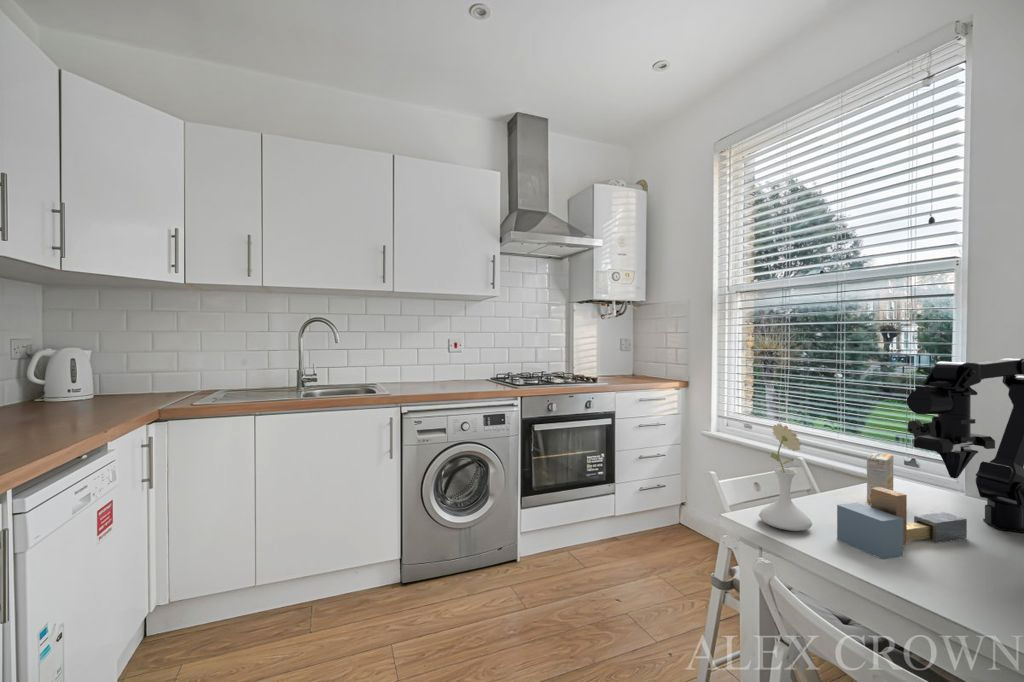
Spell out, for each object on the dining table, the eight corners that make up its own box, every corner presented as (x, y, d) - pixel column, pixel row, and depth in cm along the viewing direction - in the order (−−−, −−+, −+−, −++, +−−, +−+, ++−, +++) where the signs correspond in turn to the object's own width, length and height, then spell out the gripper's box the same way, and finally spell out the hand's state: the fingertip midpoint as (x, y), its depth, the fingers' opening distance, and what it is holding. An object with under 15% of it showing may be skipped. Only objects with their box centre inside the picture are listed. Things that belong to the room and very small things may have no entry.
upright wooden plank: (918, 529, 109) (918, 483, 109) (945, 539, 104) (945, 490, 104) (852, 538, 104) (852, 490, 104) (877, 549, 99) (877, 497, 99)
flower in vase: (821, 537, 107) (821, 430, 107) (768, 533, 109) (768, 428, 109) (798, 516, 119) (798, 421, 120) (750, 513, 122) (751, 419, 122)
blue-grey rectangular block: (857, 536, 107) (857, 502, 107) (903, 555, 98) (903, 518, 98) (837, 539, 106) (837, 504, 106) (881, 559, 96) (882, 521, 96)
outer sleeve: (944, 531, 111) (944, 512, 111) (966, 538, 106) (966, 518, 107) (914, 535, 108) (914, 515, 108) (935, 543, 104) (935, 523, 104)
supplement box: (873, 495, 136) (873, 452, 137) (894, 500, 133) (894, 455, 133) (865, 501, 131) (865, 456, 131) (887, 506, 128) (887, 459, 128)
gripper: (942, 407, 121) (942, 466, 121) (889, 410, 116) (889, 471, 116) (996, 414, 110) (996, 478, 110) (940, 416, 105) (940, 484, 105)
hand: (953, 477), depth 111 cm, fingers closed
